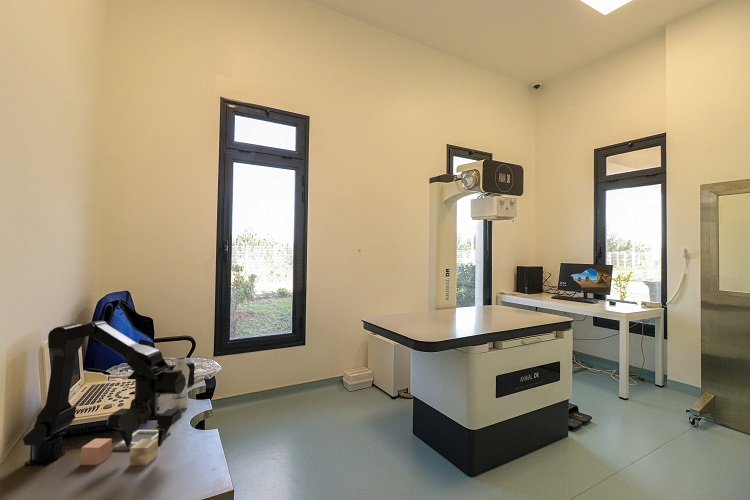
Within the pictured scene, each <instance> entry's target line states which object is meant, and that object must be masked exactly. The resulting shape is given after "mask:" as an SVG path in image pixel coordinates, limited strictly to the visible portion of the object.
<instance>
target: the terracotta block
mask: <svg viewBox="0 0 750 500" xmlns="http://www.w3.org/2000/svg"><path fill="white" fill-rule="evenodd" d="M112 445H113V438H94V439H93V440H91V441H90V442H88V443H86V444H85V445H83V446H82V447H81V449H80V450H81V453H80V454H81V455H80V456H81V457H80V465H84V466H85V465H87V466H89V465H90V466H99V465H100V464H101V463H103V462H104V461H106V460H107V459H108V458H110V457H111V456H112V451H113V446H112Z"/></svg>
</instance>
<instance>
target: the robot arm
mask: <svg viewBox="0 0 750 500" xmlns="http://www.w3.org/2000/svg"><path fill="white" fill-rule="evenodd" d="M86 337H91V338H93V339H94V340H96V341H98V342H99V343H101V344H103V345H104V346H106V347H107V348H109V349H111V351H114V352H115V353H117V354H118V355H120V356H121V357H123V358H124V359H125V362H126V364H127V366H128V367H130V369H132V370H133V371H132V373H131V374H130V375H129V376H128V377H127V380H134V398H133V399H131V401H130V404H129V405H130V406H129V408H124V407H122V408H119V409H118V410H116V411H115V412H112V413H111V414H110V415H108V418H107V419H106V420H107V421H106V426H108V427H111V428H112V429H115V430H118V431H119V432H120V434H121V437H122V440H123V439H124V441H125V444H126V446H127V447H129V446H130V445H131V441H132V434H133V432H134V431H137V430H139V428H140V426H141V425H146V423H148V421H156V422H157V426H156V428H155V429H156V430H158V448H160V447H162V445H163V443H164V441H165V439H166V438H165V436H166V434H167V432H168V431H169V430H170V429H171V427H172V426H173V425H174V424H176V423H177V422H178V421H179V420H180V419H181V418H182V411H181V410H179V409H171V408H167V409H166V410H165V411H163V412H162V413H161V412H160V413H159V412H158V411H160V406H158V398H160V397H161V395H172V394H180V393H181V392H182V391H183V389H184V387H185V383H186V379H185V376H184V375H183V374H182V370H169V369H170V367H169V366H170V365H169V364H168V363H167V362H166V360H165V359H164V357H163V353H162V351H161V350H159V349H157V348H155V347H152V346H150V345H145V344H140V343H138V342H136V341H134V340H133V339H131V338H130V337H128V336H127V335H125V334H123V333H122V332H120V331H118V330H117V329H115V328H114V327H112V326H110V325H109V324H108V323H107V321H104V320H96V321H91V322H88V323H86V324H81V323H77V322H76V323H70V324H67V325H66V324H65V325H62V326H61V325H60V326H56V327H54V328H52V329H51V330H49V333H48V335H47V345H48V346H47V347H48V349H49V351H50V353H51V354H52V364H51V371H50V376H49V381H48V388H47V389H48V390H47V394H46V402H45V404H44V406H43V407H42V409H41V410H40V412H39V413H38V415H37V416H36V419H35V422H34V425H33V428H32V429H31V430H30V431H29V432H28V433H27V434H25V435H24V436H23V438H22V442H23V444H24V446H30V450H29V452H30V453H29V460H27V461H25V462H24V466H47V465H49V464H50V463H52V462H53V461H56V459H58V458H60V457H61V456H63V455H64V454H66V451H65V450H63V440H62V439H63V438H62V437H63V435H62V434H63V433H65V432H67V431H68V429H69V427H70V425H71V424H73V422H74V420H75V419H76V410H77V406H76V405H72V404H71V403H70V402H69V398H70V392H71V385H72V379H73V371H74V366H75V360H76V356H77V355H76V354H77V352H78V351H79V350H80V349H81V347H82V346H83V344H84V342H85V338H86ZM155 367H158V368H157V369H155V370H153V371H152V369H153V368H155Z"/></svg>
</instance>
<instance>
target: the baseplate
mask: <svg viewBox="0 0 750 500" xmlns="http://www.w3.org/2000/svg"><path fill="white" fill-rule="evenodd" d="M170 435H171V431H169V430H168V432H167V434H166V436H165V439H167V438H168V437H169V436H170ZM141 439H158V430H157V429H137V430H133V434H132V441H131V445H130V446H129V447H127V446H126V444H125V441H124V439H123V438H122V439H121V440H120V441H119V442H117V444H115V445H114V446H112V451H130V448H131V447H132V446H133V445H135V444H136V443H137V442H138V441H140V440H141Z"/></svg>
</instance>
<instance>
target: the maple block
mask: <svg viewBox="0 0 750 500" xmlns="http://www.w3.org/2000/svg"><path fill="white" fill-rule="evenodd" d="M158 454H159V447H158V439H141V440H140V441H138V442H137V443H136V444H135V445H133V446H132V447H131V448H130V450H129V466H148V465H149V464H150V463H151V462H153V461H154V459H155V458H157V457H158Z"/></svg>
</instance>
